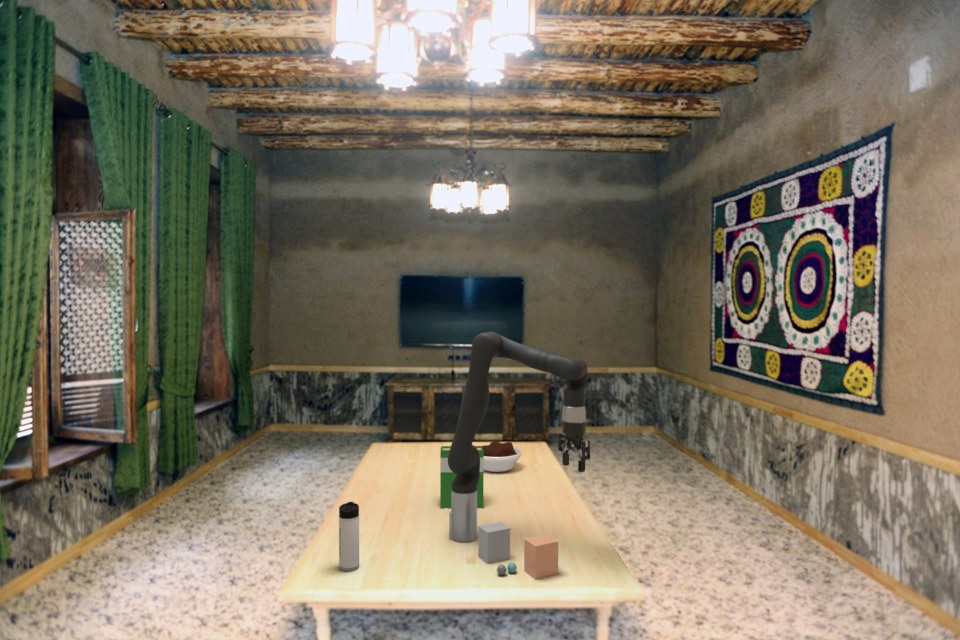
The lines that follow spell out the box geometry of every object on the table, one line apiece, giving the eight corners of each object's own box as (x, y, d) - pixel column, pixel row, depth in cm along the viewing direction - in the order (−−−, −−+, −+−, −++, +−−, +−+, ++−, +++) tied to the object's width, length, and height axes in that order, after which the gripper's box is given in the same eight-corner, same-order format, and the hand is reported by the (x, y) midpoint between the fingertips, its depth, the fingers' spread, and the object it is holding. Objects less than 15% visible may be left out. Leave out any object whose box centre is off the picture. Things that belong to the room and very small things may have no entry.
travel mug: (360, 562, 194) (360, 501, 193) (357, 571, 187) (357, 508, 186) (341, 562, 193) (341, 501, 193) (337, 571, 187) (337, 508, 186)
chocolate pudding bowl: (463, 466, 308) (463, 437, 308) (506, 461, 319) (506, 432, 318) (484, 479, 286) (484, 448, 285) (530, 473, 296) (530, 442, 296)
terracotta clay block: (535, 579, 182) (535, 546, 182) (524, 571, 188) (524, 538, 187) (558, 573, 186) (558, 541, 186) (546, 565, 192) (546, 534, 191)
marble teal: (506, 573, 186) (506, 564, 186) (508, 569, 189) (508, 560, 189) (515, 575, 185) (515, 565, 185) (517, 571, 188) (517, 561, 188)
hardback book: (482, 502, 253) (482, 445, 252) (483, 508, 245) (483, 450, 245) (440, 502, 252) (441, 446, 251) (440, 508, 245) (440, 450, 244)
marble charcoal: (495, 576, 184) (495, 566, 184) (498, 572, 187) (498, 562, 187) (505, 577, 183) (505, 568, 183) (507, 573, 186) (507, 563, 186)
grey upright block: (487, 563, 193) (487, 532, 192) (478, 556, 198) (478, 526, 198) (510, 558, 197) (510, 528, 196) (500, 551, 202) (500, 521, 202)
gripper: (552, 416, 200) (551, 464, 200) (577, 424, 187) (577, 475, 188) (570, 414, 203) (569, 461, 204) (596, 422, 191) (596, 472, 191)
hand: (573, 468), depth 196 cm, fingers open, 8 cm apart
